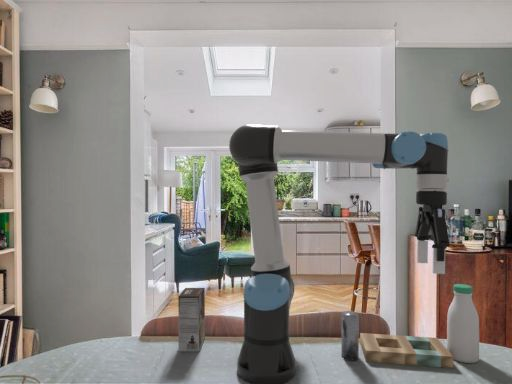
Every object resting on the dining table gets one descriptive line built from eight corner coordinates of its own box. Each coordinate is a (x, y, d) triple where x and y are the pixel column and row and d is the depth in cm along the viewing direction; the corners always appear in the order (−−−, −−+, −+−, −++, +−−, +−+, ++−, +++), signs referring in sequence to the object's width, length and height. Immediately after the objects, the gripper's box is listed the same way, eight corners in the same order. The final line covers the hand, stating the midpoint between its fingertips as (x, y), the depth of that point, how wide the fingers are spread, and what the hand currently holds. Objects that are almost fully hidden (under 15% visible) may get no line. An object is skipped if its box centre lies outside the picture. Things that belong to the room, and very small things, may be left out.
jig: (365, 361, 95) (365, 350, 95) (360, 342, 107) (360, 332, 107) (453, 368, 91) (453, 356, 91) (437, 348, 103) (437, 337, 103)
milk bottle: (484, 365, 93) (484, 290, 93) (452, 362, 95) (452, 288, 95) (472, 352, 101) (472, 282, 101) (443, 350, 102) (443, 281, 102)
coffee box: (184, 338, 110) (184, 287, 110) (205, 338, 110) (205, 287, 110) (177, 351, 101) (178, 295, 101) (200, 352, 101) (200, 296, 101)
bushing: (342, 360, 96) (342, 316, 96) (340, 352, 100) (340, 310, 100) (359, 361, 95) (359, 317, 95) (357, 353, 100) (357, 311, 100)
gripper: (465, 190, 83) (464, 279, 83) (430, 190, 108) (429, 259, 108) (432, 189, 84) (430, 278, 84) (405, 190, 109) (403, 258, 109)
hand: (429, 267), depth 96 cm, fingers open, 13 cm apart
